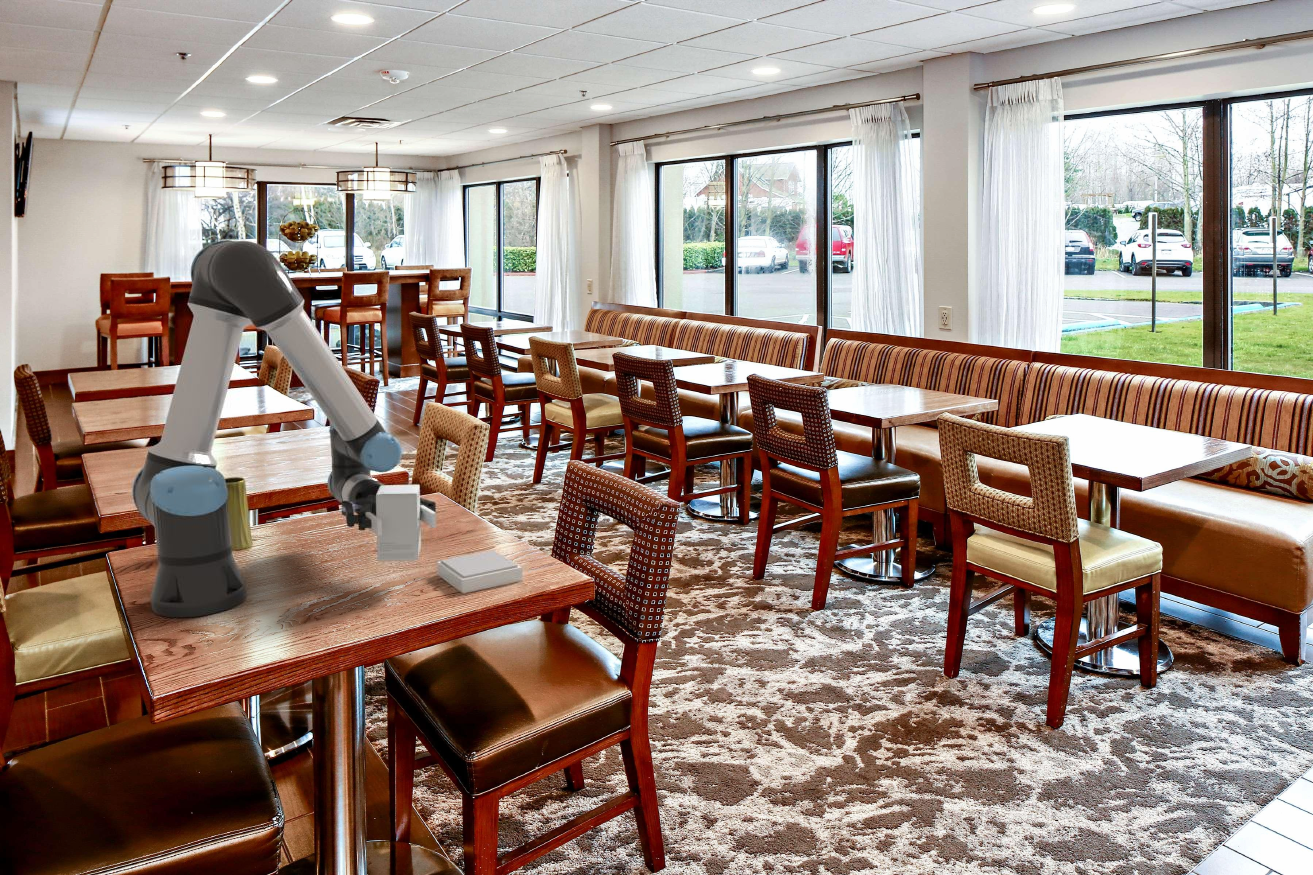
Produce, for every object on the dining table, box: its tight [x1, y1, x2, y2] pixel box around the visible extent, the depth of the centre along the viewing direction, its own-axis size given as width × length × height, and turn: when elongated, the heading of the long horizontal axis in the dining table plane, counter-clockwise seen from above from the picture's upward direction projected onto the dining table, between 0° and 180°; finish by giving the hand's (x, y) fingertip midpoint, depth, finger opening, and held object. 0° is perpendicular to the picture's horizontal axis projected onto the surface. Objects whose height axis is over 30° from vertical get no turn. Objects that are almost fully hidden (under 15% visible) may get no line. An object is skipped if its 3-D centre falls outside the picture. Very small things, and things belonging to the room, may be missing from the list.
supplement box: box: [376, 484, 422, 562], centre depth 173 cm, size 7×7×13 cm
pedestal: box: [436, 549, 523, 594], centre depth 179 cm, size 12×12×3 cm
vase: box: [224, 476, 254, 551], centre depth 196 cm, size 6×6×14 cm
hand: (407, 524), depth 169 cm, fingers closed on supplement box, 9 cm apart
